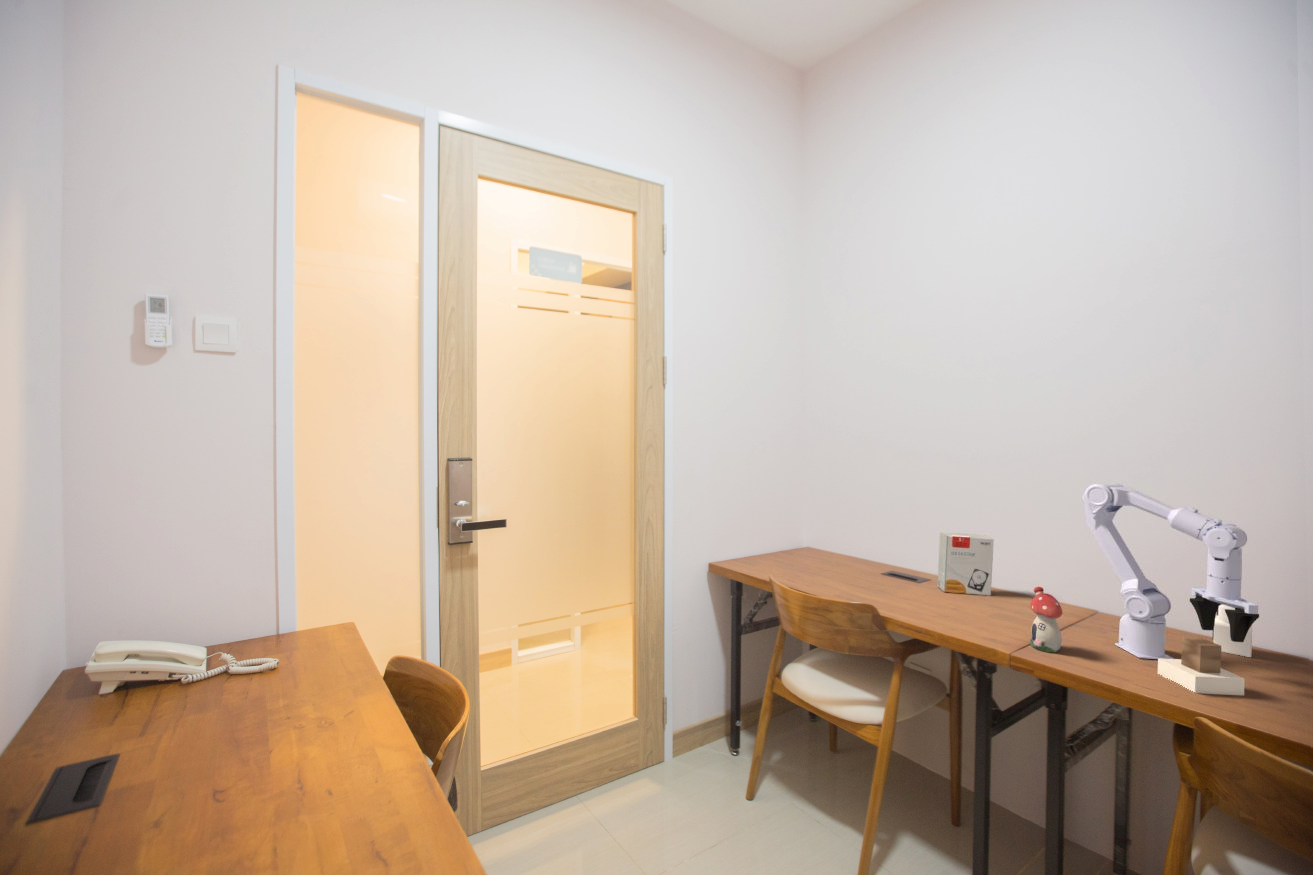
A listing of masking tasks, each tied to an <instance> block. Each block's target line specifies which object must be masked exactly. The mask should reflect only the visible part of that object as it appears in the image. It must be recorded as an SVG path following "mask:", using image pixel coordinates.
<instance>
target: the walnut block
mask: <svg viewBox="0 0 1313 875" xmlns="http://www.w3.org/2000/svg"><path fill="white" fill-rule="evenodd" d="M1181 639H1182V640H1181V658H1180V659H1181V664H1182V665H1184V666H1186V667H1189V668H1191V669H1193V670H1195V671H1197V672H1200V673H1220V670H1221V668H1222V667H1221V666H1222V662H1221V661H1222V652H1221V645H1218V644H1216V643H1213V642H1212V641H1210V640H1207V639H1205V638H1202V637H1199V638H1198V637H1182V638H1181Z"/></svg>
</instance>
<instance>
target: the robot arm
mask: <svg viewBox="0 0 1313 875" xmlns="http://www.w3.org/2000/svg"><path fill="white" fill-rule="evenodd" d="M1081 499H1082V501H1083V503H1084V520H1085V523H1086V525H1087V526H1088V528H1089V530H1090V532H1091V533H1092V535H1093V537H1094V539H1095V540H1096V543H1097V544H1098V545H1099V547H1100V549H1101V552H1102V553H1103V554H1104V556H1105V558H1106V560H1107V561H1108V563H1109V565H1110V567H1111V568H1112V570H1113V571H1114V573H1115V575H1116V577H1117V579H1118V580H1119V582H1120V583H1121V588H1120V592H1119V593H1120V595H1121V597H1122V600H1123V607H1124V609H1125V612H1126V614H1124V615H1123V616H1121V617H1120V620H1119V625H1118V626H1119V628H1118V630H1119V631H1118V642H1115V643H1114V644H1115V646H1116V647H1119V648H1120V649H1123V650H1125V651H1126V652H1128V653H1130V654H1131V655H1133V656H1135V657H1137V658H1139V659H1149V660H1158V658H1161V659H1175V658H1174V657H1172V656H1170V655H1169V654H1166V628H1167V626H1166V621H1167V620H1166V616H1165V615H1167V614H1169V613H1170V611H1171V609H1172V603H1171V601H1170V598H1169V597H1168V596H1167V595H1166V594H1164V593H1163V592H1162V591H1161V590H1160V589H1158V587H1157V585H1156V584H1155V583H1153V582H1152V581H1151V580H1149V579H1148V578H1147V577H1146V576H1145V573H1143V571H1142V569H1141V568H1140V565H1139V563H1138V562H1137V561H1136V559H1135V557H1134V555H1133V554H1132V552H1131V551H1130V549H1129V547H1128V546H1127V544H1126V543H1125V541H1124V539H1123V537H1122V536H1121V534H1120V532H1119V530H1118V529H1117V527H1116V526H1115V524H1114V522H1113V520H1114V518H1115V516H1116V515H1117V512H1118V511H1119V510H1121V509H1122V508H1123V507H1124V506H1129V507H1134V508H1137V509H1140V510H1142V511H1143V512H1147V513H1149V514H1152V515H1155V516H1157V517H1159V518H1161V519H1164V520H1167V521H1168V524H1169V525H1170V527H1171V528H1172V529H1174V530H1176V531H1179V532H1180V533H1183V534H1185V535H1188V536H1190V537H1192V538H1195V539H1196V540H1199V541H1200V542H1203V543H1204V544H1205V545H1206V547H1207V558H1206V560H1207V561H1206V562H1207V563H1206V588H1203V587H1191V596H1193V597H1194V598H1193V597H1190V598H1189V602H1190V604H1191V605H1192V607H1193V609H1194V610H1195V613H1196V615H1197V618H1198V621H1199V625H1200V628H1201V630H1202V631H1212V632H1213V629H1214V624H1215V618H1216V617H1217V609H1218V607H1219V605H1220V604H1223V605H1226V606H1229V607H1232V608H1235V610H1230V609H1225V612H1226V614H1227V617H1228V620H1229V624H1230V637H1231V641H1234V642H1244V639H1245V637H1246V634H1247V632H1248V630H1249V628H1250V627H1251V625H1252V626H1253V624H1254V623H1255V622H1256V621H1257V620H1258V619H1259V618H1260V614H1259V605H1258V604H1255V603H1252V602H1250V601H1248V600H1246V599H1244V598H1242V578H1243V577H1242V574H1243V571H1242V570H1243V559H1242V558H1243V556H1242V554H1243V547H1245V546H1246V544H1247V542H1248V534H1247V533H1246V532H1245V530H1243V529H1242V528H1241V527H1239V526H1237V525H1236V524H1233V523H1224V524H1223V520H1222V519H1219V518H1215V519H1214V518H1212V517H1210V516H1207V515H1205V514H1202V513H1201V512H1199V509H1198V508H1194V507H1189V508H1188V507H1185V506H1184V507H1180V508H1175V507H1173V506H1171V505H1169V504H1167V503H1164V502H1161V501H1159V500H1157V499H1156V498H1154V497H1151V496H1150V495H1147V494H1144V493H1143V492H1140V491H1138V490H1136V489H1134V488H1132V487H1129V486H1124V485H1123V484H1120V483H1117V482H1113V483H1112V482H1111V483H1094V484H1091V485H1089V486H1088V487H1086V489H1085V491H1084V493H1083V495H1082V497H1081Z"/></svg>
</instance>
